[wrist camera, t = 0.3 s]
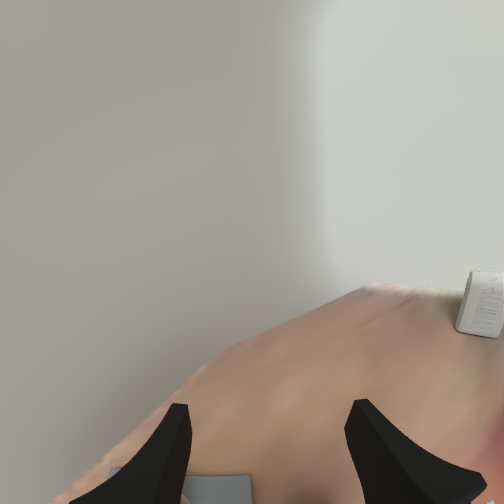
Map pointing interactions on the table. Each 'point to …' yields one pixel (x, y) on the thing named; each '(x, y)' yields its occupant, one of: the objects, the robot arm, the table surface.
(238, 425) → the table surface
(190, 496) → the notched board
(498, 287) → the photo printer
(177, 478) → the robot arm
